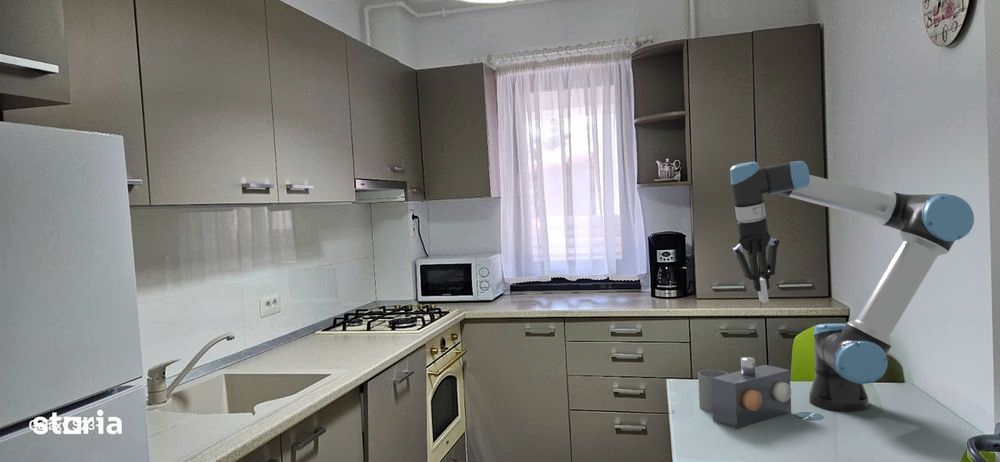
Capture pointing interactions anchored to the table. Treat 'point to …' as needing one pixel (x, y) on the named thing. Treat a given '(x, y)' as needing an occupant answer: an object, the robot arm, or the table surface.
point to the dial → (748, 365)
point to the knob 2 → (781, 391)
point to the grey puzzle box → (733, 388)
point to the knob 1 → (752, 400)
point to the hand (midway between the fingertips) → (764, 301)
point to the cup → (707, 388)
